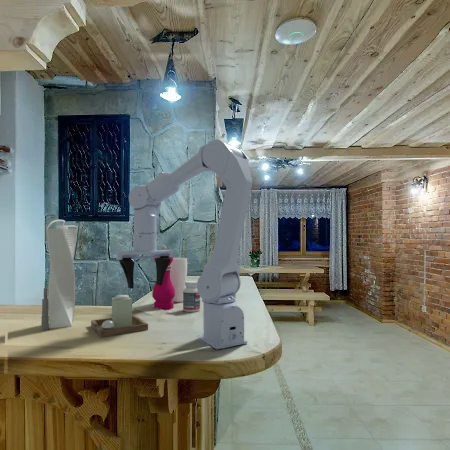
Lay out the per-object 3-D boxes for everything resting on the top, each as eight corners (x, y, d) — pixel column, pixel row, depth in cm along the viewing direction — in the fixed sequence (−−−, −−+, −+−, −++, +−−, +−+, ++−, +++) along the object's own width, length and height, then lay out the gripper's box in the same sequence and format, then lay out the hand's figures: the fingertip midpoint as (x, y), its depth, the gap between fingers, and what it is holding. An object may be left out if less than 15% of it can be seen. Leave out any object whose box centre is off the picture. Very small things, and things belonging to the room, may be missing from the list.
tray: (148, 332, 84) (148, 324, 84) (100, 339, 78) (101, 331, 78) (134, 322, 93) (134, 314, 93) (91, 328, 88) (91, 320, 88)
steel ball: (116, 333, 81) (116, 320, 81) (103, 335, 79) (103, 322, 80) (113, 330, 84) (113, 318, 84) (100, 332, 82) (100, 319, 82)
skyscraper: (43, 326, 91) (44, 219, 92) (77, 322, 94) (77, 219, 95) (40, 334, 83) (41, 218, 84) (77, 330, 87) (77, 218, 87)
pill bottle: (197, 312, 104) (197, 283, 105) (180, 311, 105) (180, 282, 106) (202, 308, 110) (202, 280, 110) (186, 308, 111) (186, 280, 111)
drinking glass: (191, 300, 122) (191, 258, 123) (178, 304, 117) (178, 259, 117) (176, 298, 126) (176, 257, 126) (163, 301, 120) (163, 258, 121)
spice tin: (132, 327, 87) (132, 296, 87) (116, 329, 84) (116, 298, 85) (127, 323, 90) (127, 294, 90) (111, 325, 88) (111, 295, 88)
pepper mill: (164, 311, 106) (164, 245, 107) (147, 308, 110) (147, 245, 110) (179, 306, 112) (179, 245, 113) (162, 304, 116) (162, 244, 116)
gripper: (165, 233, 97) (165, 282, 97) (112, 233, 89) (112, 287, 89) (176, 233, 91) (176, 285, 91) (120, 233, 83) (120, 290, 83)
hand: (145, 286), depth 89 cm, fingers open, 7 cm apart
